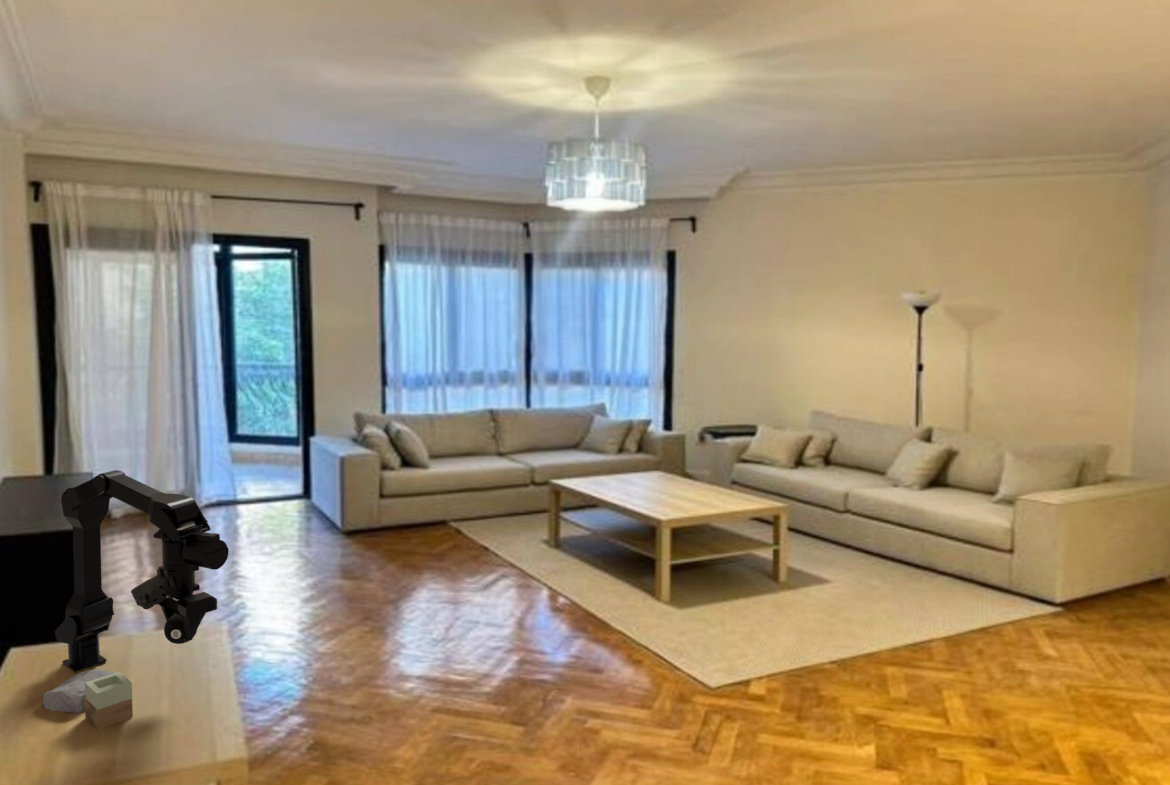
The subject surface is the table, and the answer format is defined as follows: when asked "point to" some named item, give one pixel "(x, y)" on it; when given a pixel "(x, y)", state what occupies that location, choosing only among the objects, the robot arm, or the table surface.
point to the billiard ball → (175, 630)
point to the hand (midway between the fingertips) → (181, 635)
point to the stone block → (72, 692)
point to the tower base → (108, 713)
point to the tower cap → (108, 690)
